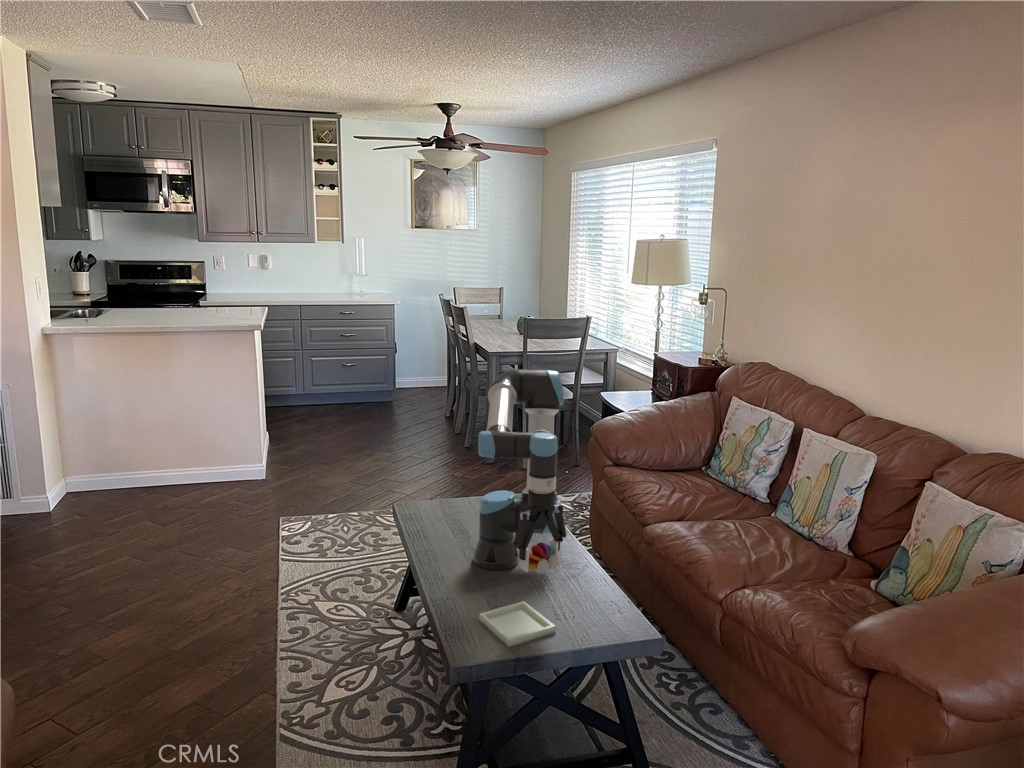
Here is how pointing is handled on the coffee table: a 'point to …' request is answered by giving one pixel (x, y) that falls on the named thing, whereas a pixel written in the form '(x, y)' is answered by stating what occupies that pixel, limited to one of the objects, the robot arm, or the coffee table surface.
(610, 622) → the coffee table surface
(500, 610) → the tray
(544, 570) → the rainbow lobed toy
